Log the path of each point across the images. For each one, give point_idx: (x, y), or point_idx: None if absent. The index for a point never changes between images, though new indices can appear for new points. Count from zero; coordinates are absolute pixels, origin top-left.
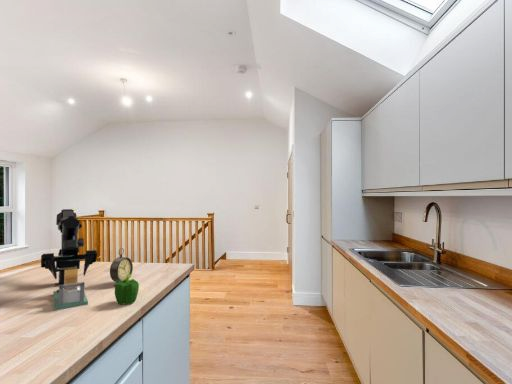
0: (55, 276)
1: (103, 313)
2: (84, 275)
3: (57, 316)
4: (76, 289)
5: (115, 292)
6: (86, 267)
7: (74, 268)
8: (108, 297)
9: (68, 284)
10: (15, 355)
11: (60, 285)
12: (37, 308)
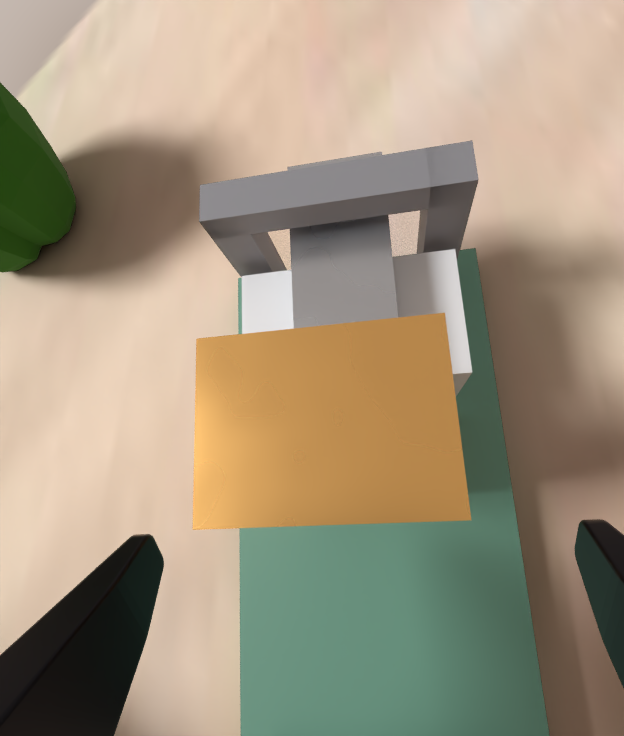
0: (613, 530)
1: (184, 94)
2: (152, 552)
3: (435, 136)
4: (296, 168)
5: (32, 131)
6: (25, 641)
7: (253, 411)
8: (94, 397)
9: (370, 172)
10: None
11: (461, 161)
12: (618, 374)
